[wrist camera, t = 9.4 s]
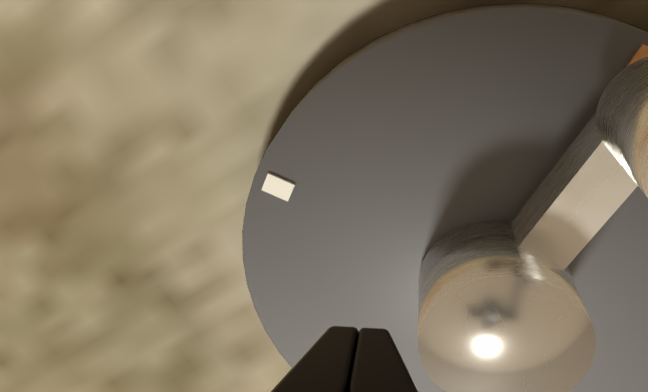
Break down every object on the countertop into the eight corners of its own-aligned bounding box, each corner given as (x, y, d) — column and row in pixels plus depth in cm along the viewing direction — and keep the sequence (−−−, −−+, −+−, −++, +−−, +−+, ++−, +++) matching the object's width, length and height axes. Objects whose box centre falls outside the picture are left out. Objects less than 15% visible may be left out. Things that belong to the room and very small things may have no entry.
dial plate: (364, -100, 16) (359, -101, 14) (905, 151, 17) (950, 173, 15) (201, 326, 24) (187, 351, 23) (562, 478, 25) (571, 512, 24)
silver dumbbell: (513, 360, 20) (539, 490, 16) (393, 302, 20) (384, 417, 15) (758, 90, 15) (910, 168, 10) (599, 5, 14) (682, 45, 10)
